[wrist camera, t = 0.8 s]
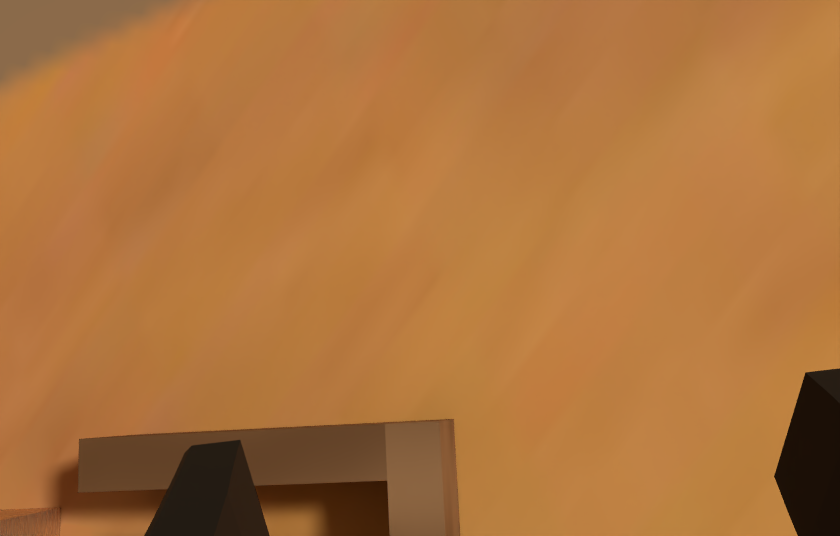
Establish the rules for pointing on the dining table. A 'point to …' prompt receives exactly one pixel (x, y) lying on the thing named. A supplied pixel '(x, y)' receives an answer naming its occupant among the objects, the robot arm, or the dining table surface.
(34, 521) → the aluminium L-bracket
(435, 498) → the corner jig
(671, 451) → the dining table surface
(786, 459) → the robot arm
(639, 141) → the dining table surface
